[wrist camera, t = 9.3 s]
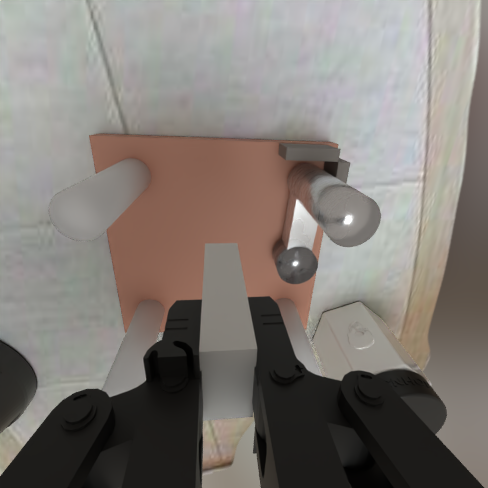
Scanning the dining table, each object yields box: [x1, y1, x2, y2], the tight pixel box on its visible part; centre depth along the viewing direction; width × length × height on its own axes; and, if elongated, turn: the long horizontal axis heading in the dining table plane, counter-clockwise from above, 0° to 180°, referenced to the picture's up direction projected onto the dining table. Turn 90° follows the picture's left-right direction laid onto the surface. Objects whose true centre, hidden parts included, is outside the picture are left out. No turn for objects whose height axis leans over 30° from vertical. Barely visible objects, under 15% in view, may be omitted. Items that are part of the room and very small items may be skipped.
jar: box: [313, 302, 447, 434], centre depth 30 cm, size 9×8×12 cm
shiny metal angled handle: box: [272, 163, 381, 284], centre depth 21 cm, size 10×4×10 cm, turn 174°
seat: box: [49, 134, 350, 397], centre depth 23 cm, size 20×20×12 cm
